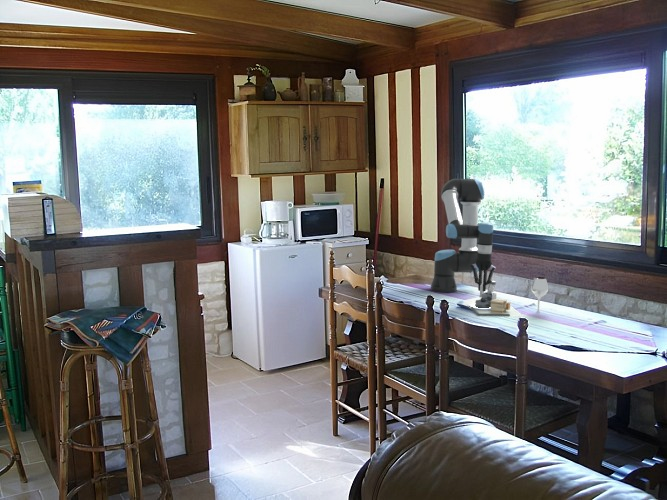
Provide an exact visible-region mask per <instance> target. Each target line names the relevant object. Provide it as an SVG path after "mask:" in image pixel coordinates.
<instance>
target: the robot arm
mask: <svg viewBox="0 0 667 500" xmlns="http://www.w3.org/2000/svg"><path fill="white" fill-rule="evenodd" d="M440 197H441V201H442V202H443V203H444V207H445V213H446V217H447V222H448V223H447V225H446V227H445V234H446V237H447V238H448V239H461V245H460V246H461V247H459V248H458V252H457V251H456V250H455V249H441V250H438V251H436V252H435V254H434V268H433V270H434V271H433V278H432V281H431V284H430V290H431V291H433V292H438V293H454V292H457V289H458V287H457V283H456V279H455V273H460V274H461V273H463V274H464V273H466V274H467V273H469V274H473V278H474V283H475V284H477V285H478V291H479V298H480V299H481V298H482V294H483V293H485V292H487V291H486V290H487V285H488V286H489V284H490V280H492V278H493V275H494V271H496V269H497V267H496V266H494V265H493V263H492V251H493V238H494V224H493V223H489V222H480V223H478V217H479V215H478V214H479V208H478V207H479V205H481V203H482V200H484V199H485V187H484V183H483V181H482V180H481V179H478V178H453V179H450V180H448V181H446V183H444V185H443V187H442V188H441V192H440ZM459 200H460V201H459ZM459 203H460V204H461V205H462V211H461V209H460V208H461V207H460V204H459ZM461 212H462V213H461ZM488 270H490V271H489V273H488Z"/></svg>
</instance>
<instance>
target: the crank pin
mask: <svg viewBox="0 0 667 500" xmlns="http://www.w3.org/2000/svg"><path fill="white" fill-rule="evenodd" d="M496 284H497V281H496V280H492V279H491V280H490V284H488V287H487V291H486V292H487V294H488V295H493V293H495V292H494V291H495V288H496Z"/></svg>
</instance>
